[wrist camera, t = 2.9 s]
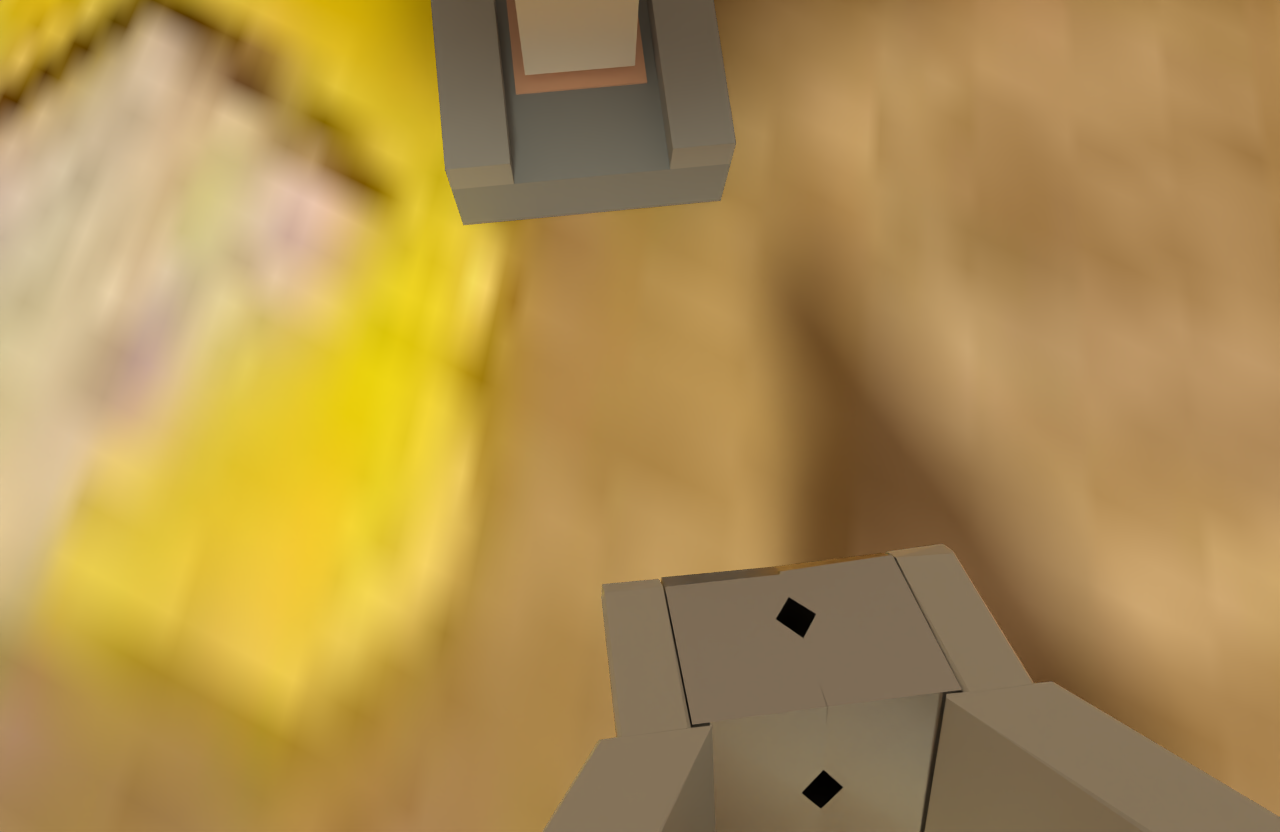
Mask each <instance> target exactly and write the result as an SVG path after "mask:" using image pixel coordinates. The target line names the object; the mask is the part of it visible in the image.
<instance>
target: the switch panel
mask: <svg viewBox="0 0 1280 832" xmlns="http://www.w3.org/2000/svg"><path fill="white" fill-rule="evenodd" d="M431 6H432V18H433V30H434V42H435V54H436V66H437V78H438V90H439V102H440V114H441V126H442V138H443V150H444V162H445V171H446V174H447V177H448V180H449V183H450V186H451V189H452V192H453V195H454V198H455V201H456V204H457V207H458V210H459V213H460V216H461V219H462V222H463V225H469V224H480V223H490V222H501V221H511V220H522V219H532V218H543V217H553V216H563V215H574V214H584V213H595V212H605V211H616V210H626V209H637V208H647V207H657V206H668V205H678V204H689V203H699V202H710V201H720V200H721V197H722V193H723V189H724V186H725V182H726V178H727V175H728V171H729V167H730V164H731V160H732V156H733V152H734V149H735V145H736V139H735V133H734V127H733V120H732V114H731V107H730V101H729V95H728V88H727V82H726V76H725V69H724V63H723V56H722V50H721V44H720V37H719V31H718V25H717V18H716V12H715V6H714V0H639V6H638V23H637V40H636V57H635V66H627V67H615V68H604V69H592V70H580V71H569V72H557V73H545V74H534V75H525V71H524V64H523V57H522V49H521V42H520V34H519V27H518V20H517V12H516V5H515V0H431Z"/></svg>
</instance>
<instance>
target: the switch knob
mask: <svg viewBox="0 0 1280 832" xmlns="http://www.w3.org/2000/svg"><path fill="white" fill-rule="evenodd" d="M515 5H516V12H517V20H518V27H519V34H520V42H521V49H522V57H523V64H524V71H525V75H534V74H545V73H557V72H569V71H580V70H592V69H604V68H615V67H627V66H635V57H636V40H637V23H638V6H639V0H515Z"/></svg>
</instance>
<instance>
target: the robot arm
mask: <svg viewBox="0 0 1280 832" xmlns="http://www.w3.org/2000/svg"><path fill="white" fill-rule="evenodd" d="M601 598H602V608H603V617H604V627H605V636H606V646H607V655H608V665H609V674H610V684H611V693H612V703H613V712H614V722H615V731H616V737H615V738H609V739H602V740H599V741H598V742H597V744H596V745H595V747H594V749H593V750H592V752H591V754H590V755H589V757H588V758H587V760H586V762H585V763H584V765H583V767H582V768H581V770H580V771H579V773H578V775H577V776H576V778H575V780H574V781H573V783H572V784H571V786H570V788H569V789H568V791H567V793H566V794H565V796H564V797H563V799H562V801H561V802H560V804H559V806H558V807H557V809H556V810H555V812H554V814H553V815H552V817H551V819H550V820H549V822H548V823H547V825H546V827H545V828H544V830H543V832H1280V817H1279V816H1277V815H1276V814H1274V813H1272V812H1271V811H1269V810H1267V809H1266V808H1264V807H1262V806H1261V805H1259V804H1257V803H1255V802H1254V801H1252V800H1250V799H1249V798H1247V797H1245V796H1244V795H1242V794H1240V793H1239V792H1237V791H1235V790H1234V789H1232V788H1230V787H1229V786H1227V785H1225V784H1224V783H1222V782H1220V781H1219V780H1217V779H1215V778H1214V777H1212V776H1210V775H1209V774H1207V773H1205V772H1204V771H1202V770H1200V769H1199V768H1197V767H1195V766H1193V765H1192V764H1190V763H1188V762H1187V761H1185V760H1183V759H1182V758H1180V757H1178V756H1177V755H1175V754H1173V753H1172V752H1170V751H1168V750H1167V749H1165V748H1163V747H1162V746H1160V745H1158V744H1157V743H1155V742H1153V741H1152V740H1150V739H1148V738H1147V737H1145V736H1143V735H1142V734H1140V733H1138V732H1137V731H1135V730H1133V729H1131V728H1130V727H1128V726H1126V725H1125V724H1123V723H1121V722H1120V721H1118V720H1116V719H1115V718H1113V717H1111V716H1110V715H1108V714H1106V713H1105V712H1103V711H1101V710H1100V709H1098V708H1096V707H1095V706H1093V705H1091V704H1090V703H1088V702H1086V701H1085V700H1083V699H1081V698H1080V697H1078V696H1076V695H1075V694H1073V693H1071V692H1069V691H1068V690H1066V689H1064V688H1063V687H1061V686H1059V685H1058V684H1056V683H1054V682H1053V681H1051V682H1041V683H1034V682H1033V681H1032V679H1031V677H1030V676H1029V674H1028V672H1027V671H1026V669H1025V667H1024V666H1023V664H1022V663H1021V661H1020V659H1019V658H1018V656H1017V654H1016V653H1015V651H1014V649H1013V648H1012V646H1011V645H1010V643H1009V641H1008V640H1007V638H1006V636H1005V635H1004V633H1003V631H1002V630H1001V628H1000V626H999V625H998V623H997V622H996V620H995V618H994V617H993V615H992V613H991V612H990V610H989V608H988V607H987V605H986V604H985V602H984V600H983V599H982V597H981V595H980V594H979V592H978V590H977V589H976V587H975V586H974V584H973V582H972V581H971V579H970V577H969V576H968V574H967V572H966V571H965V569H964V568H963V566H962V564H961V563H960V561H959V559H958V558H957V556H956V554H955V553H954V551H953V550H952V549H950V548H949V547H947V546H946V545H944V544H936V545H929V546H922V547H915V548H907V549H900V550H893V551H887V552H886V553H885V554H884V553H877V554H869V555H861V556H853V557H845V558H837V559H829V560H822V561H814V562H806V563H798V564H790V565H782V566H774V567H766V568H755V569H745V570H735V571H724V572H714V573H703V574H693V575H683V576H672V577H662V578H661V582H660V580H659V579H653V580H643V581H632V582H621V583H611V584H602V595H601Z"/></svg>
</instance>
